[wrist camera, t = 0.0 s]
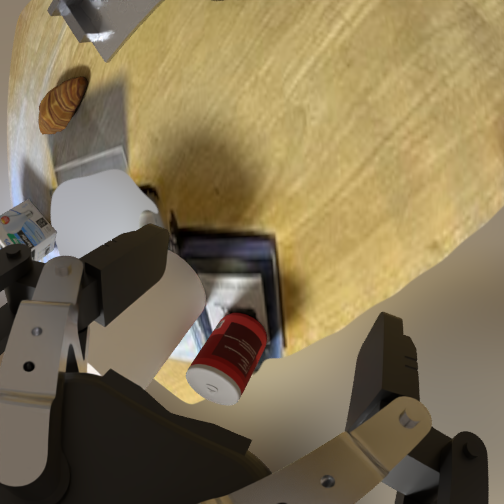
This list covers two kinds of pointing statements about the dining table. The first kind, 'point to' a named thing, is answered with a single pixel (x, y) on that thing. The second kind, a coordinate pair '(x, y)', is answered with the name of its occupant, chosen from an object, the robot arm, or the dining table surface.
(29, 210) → the light bulb box
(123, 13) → the keeper bracket
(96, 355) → the canister
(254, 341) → the canned food
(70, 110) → the croissant
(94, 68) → the dining table surface
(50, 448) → the robot arm
